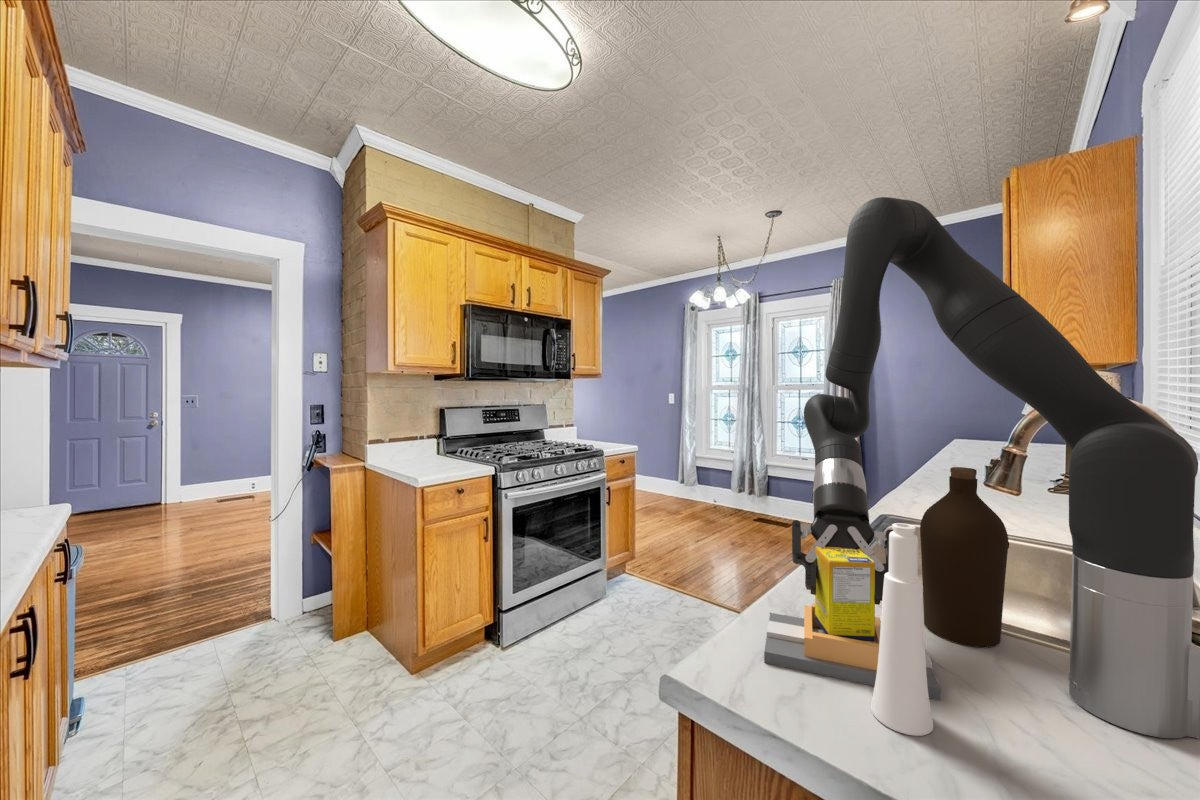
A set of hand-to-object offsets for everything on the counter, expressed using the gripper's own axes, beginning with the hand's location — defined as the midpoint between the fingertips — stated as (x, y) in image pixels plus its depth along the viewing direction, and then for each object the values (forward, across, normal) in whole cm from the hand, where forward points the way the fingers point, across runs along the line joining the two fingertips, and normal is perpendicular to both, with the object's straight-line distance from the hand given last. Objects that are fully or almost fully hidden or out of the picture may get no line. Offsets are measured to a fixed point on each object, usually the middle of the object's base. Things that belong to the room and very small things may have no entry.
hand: (844, 597), depth 65 cm
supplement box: (+3, 0, +5) cm, 6 cm away
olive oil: (-4, +17, +17) cm, 25 cm away
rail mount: (+5, 0, +7) cm, 9 cm away
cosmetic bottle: (+13, +5, -1) cm, 14 cm away
